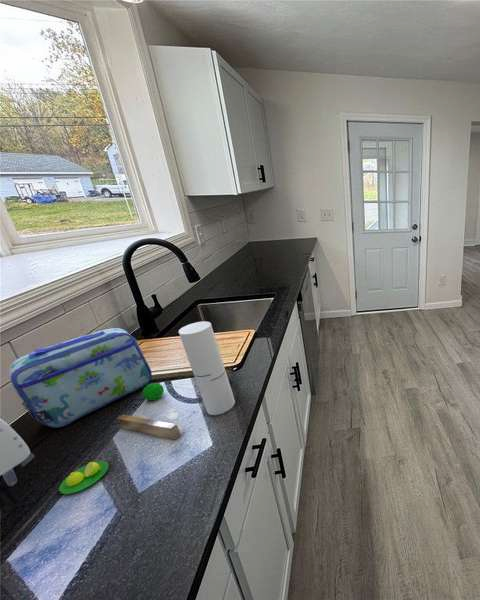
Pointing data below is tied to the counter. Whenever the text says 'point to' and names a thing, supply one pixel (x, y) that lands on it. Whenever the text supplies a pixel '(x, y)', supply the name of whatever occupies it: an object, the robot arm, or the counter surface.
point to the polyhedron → (153, 391)
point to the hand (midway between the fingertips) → (11, 504)
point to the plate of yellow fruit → (83, 477)
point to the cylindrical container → (207, 367)
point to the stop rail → (149, 426)
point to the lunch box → (79, 376)
